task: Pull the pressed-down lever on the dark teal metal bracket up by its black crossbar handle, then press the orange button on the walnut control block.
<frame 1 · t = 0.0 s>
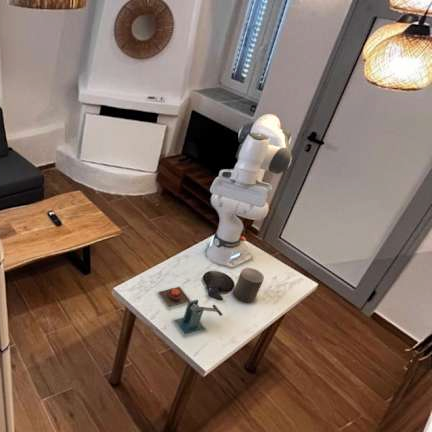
hand: (231, 210, 155), 52 cm above the table, tool tilted 20°, fingers open, 8 cm apart
gaming controller: (213, 294, 190), on the table
button: (175, 292, 185), point 4 cm above the table, slide at 0.2 cm
control block: (173, 298, 187), on the table
pillar candle: (243, 295, 189), on the table
bracket: (189, 326, 174), on the table
lever: (205, 309, 170), point 9 cm above the table, hinge at -25.0°
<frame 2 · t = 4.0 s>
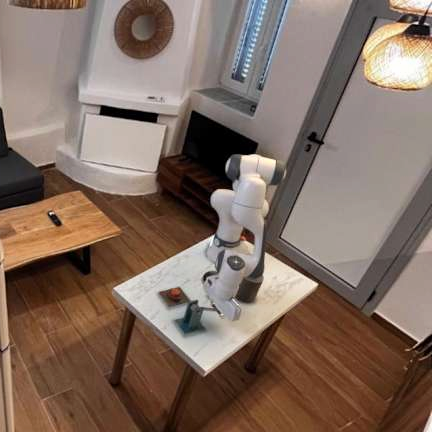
hand: (216, 311, 174), 5 cm above the table, tool pointing down, fingers closed on lever, 5 cm apart
lever: (205, 309, 170), point 9 cm above the table, hinge at -25.1°, touching gripper
everything else where it was.
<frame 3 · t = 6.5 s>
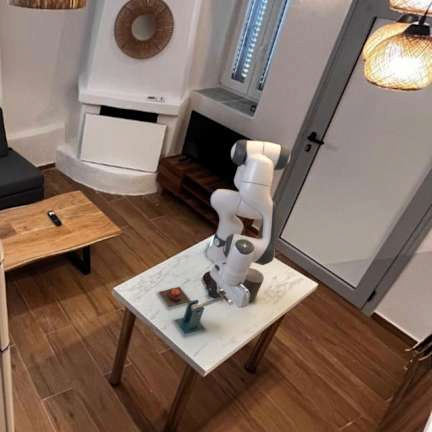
hand: (224, 297, 170), 14 cm above the table, tool pointing down, fingers closed on lever, 5 cm apart
lever: (209, 302, 168), point 13 cm above the table, hinge at 8.9°, touching gripper
everything else where it was.
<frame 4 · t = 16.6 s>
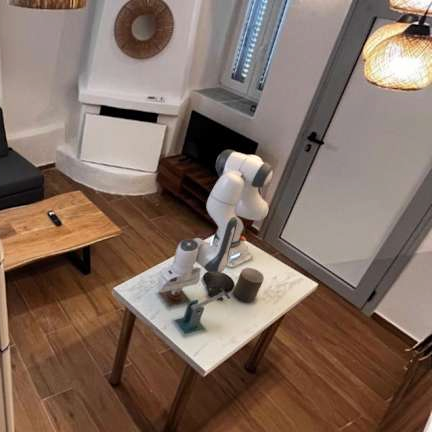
hand: (175, 293, 184), 4 cm above the table, tool pointing down, fingers closed, pressing on button
button: (174, 294, 185), point 3 cm above the table, slide at -0.8 cm, touching gripper
lever: (209, 300, 167), point 14 cm above the table, hinge at 20.0°
everything else where it was.
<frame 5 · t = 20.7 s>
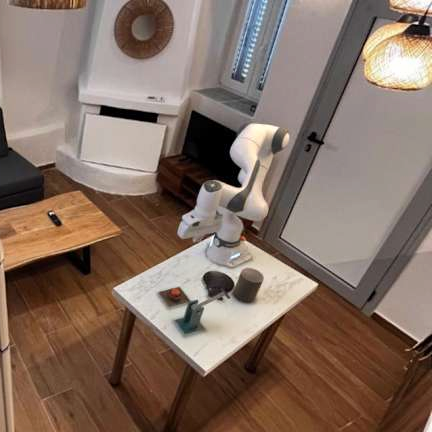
hand: (196, 241, 179), 27 cm above the table, tool pointing down, fingers closed
button: (175, 292, 185), point 4 cm above the table, slide at 0.1 cm
everything else where it was.
at the end: lever at +20° (first picture: -25°); button pushed in 1.0 cm at the most during the clip, back to where it started at the end; button slide at 0.1 cm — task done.
